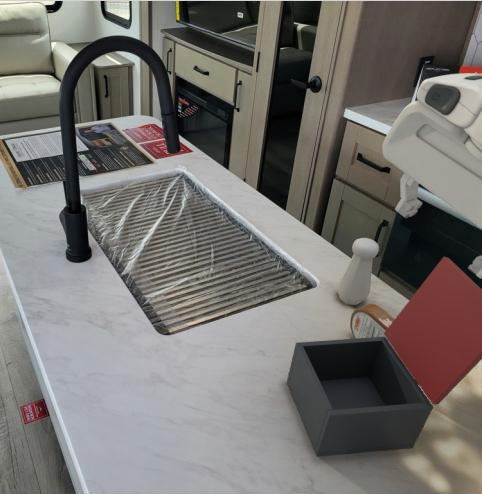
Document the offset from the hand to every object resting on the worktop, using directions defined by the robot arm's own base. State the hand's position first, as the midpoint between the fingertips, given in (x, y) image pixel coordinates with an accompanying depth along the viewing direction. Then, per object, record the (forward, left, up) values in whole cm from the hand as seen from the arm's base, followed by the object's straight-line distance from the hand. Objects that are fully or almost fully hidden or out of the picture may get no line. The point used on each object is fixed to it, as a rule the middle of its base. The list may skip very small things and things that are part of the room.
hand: (438, 241), depth 49 cm
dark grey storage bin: (+1, -3, -32) cm, 32 cm away
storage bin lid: (-7, -3, -16) cm, 18 cm away
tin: (-9, -12, -32) cm, 36 cm away
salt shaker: (-11, -28, -32) cm, 44 cm away
